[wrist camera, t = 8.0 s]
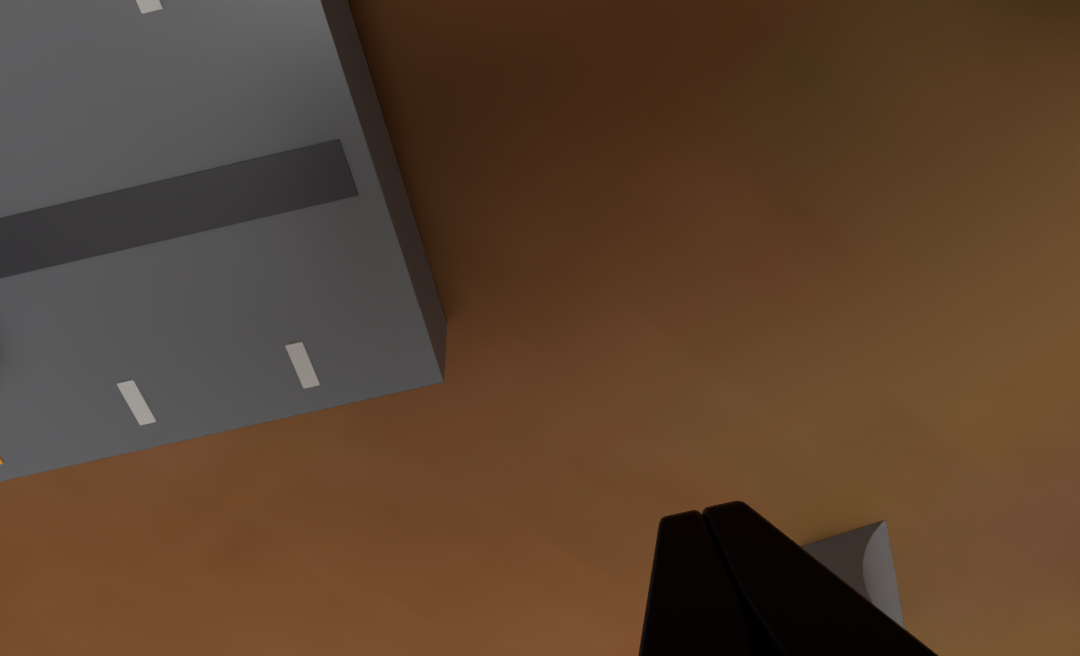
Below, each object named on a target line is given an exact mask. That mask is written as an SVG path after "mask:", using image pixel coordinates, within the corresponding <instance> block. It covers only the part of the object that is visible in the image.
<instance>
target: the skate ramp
mask: <svg viewBox="0 0 1080 656" xmlns="http://www.w3.org/2000/svg"><path fill="white" fill-rule="evenodd" d="M801 548H803V549H804V550H805V551H806V552H808V553H809V554H810V555H812V556H813V557H814V558H815V559H817V560H818V561H819V562H820V563H822V564H823V565H824V566H825V567H827V568H828V569H829V570H831V571H832V572H833V573H834V574H836V575H837V576H838V577H839V578H841V579H842V580H843V581H844V582H846V583H847V584H848V585H849V586H851V587H852V588H853V589H855V590H856V591H857V592H858V593H860V594H861V595H862V596H863V597H865V598H866V599H867V600H868V601H870V602H871V603H872V604H874V605H875V606H876V607H877V608H879V609H880V610H881V611H882V612H884V613H885V614H886V615H887V616H889V617H890V618H891V619H892V620H894V621H895V622H896V623H898V624H899V625H900V626H901V627H903V628H904V622H903V616H902V610H901V605H900V599H899V593H898V588H897V582H896V576H895V570H894V565H893V559H892V553H891V548H890V542H889V536H888V530H887V525H886V520H883V521H880V522H877V523H874V524H871V525H868V526H864V527H861V528H858V529H855V530H852V531H849V532H845V533H842V534H839V535H836V536H833V537H830V538H827V539H823V540H820V541H817V542H814V543H811V544H808V545H804V546H801ZM904 629H905V628H904Z"/></svg>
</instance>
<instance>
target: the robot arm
mask: <svg viewBox="0 0 1080 656" xmlns="http://www.w3.org/2000/svg"><path fill="white" fill-rule="evenodd" d="M639 656H938V655H937V654H935V653H934V652H933V651H932V650H930V649H929V648H928V647H927V646H925V645H924V644H923V643H922V642H920V641H919V640H918V639H917V638H915V637H914V636H913V635H911V634H910V633H909V632H908V631H906V630H905V629H904V628H903V627H901V626H900V625H899V624H898V623H896V622H895V621H894V620H892V619H891V618H890V617H889V616H887V615H886V614H885V613H884V612H882V611H881V610H880V609H879V608H877V607H876V606H875V605H874V604H872V603H871V602H870V601H868V600H867V599H866V598H865V597H863V596H862V595H861V594H860V593H858V592H857V591H856V590H855V589H853V588H852V587H851V586H849V585H848V584H847V583H846V582H844V581H843V580H842V579H841V578H839V577H838V576H837V575H836V574H834V573H833V572H832V571H831V570H829V569H828V568H827V567H825V566H824V565H823V564H822V563H820V562H819V561H818V560H817V559H815V558H814V557H813V556H812V555H810V554H809V553H808V552H806V551H805V550H804V549H803V548H801V547H800V546H799V545H798V544H796V543H795V542H794V541H793V540H791V539H790V538H789V537H788V536H786V535H785V534H784V533H782V532H781V531H780V530H779V529H777V528H776V527H775V526H774V525H772V524H771V523H770V522H769V521H767V520H766V519H765V518H763V517H762V516H761V515H760V514H758V513H757V512H756V511H755V510H753V509H752V508H751V507H750V506H748V505H747V504H746V503H744V502H741V501H733V502H728V503H724V504H719V505H715V506H710V507H707V508H705V509H704V510H703V512H702V514H701V513H700V512H699V511H696V510H692V511H687V512H682V513H678V514H673V515H669V516H665V517H663V518H662V519H661V521H660V523H659V527H658V534H657V540H656V547H655V553H654V559H653V566H652V572H651V579H650V585H649V592H648V598H647V604H646V611H645V617H644V624H643V630H642V636H641V643H640V649H639Z"/></svg>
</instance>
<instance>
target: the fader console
mask: <svg viewBox="0 0 1080 656" xmlns="http://www.w3.org/2000/svg"><path fill="white" fill-rule="evenodd" d="M446 333H447V322H446V319H445V316H444V312H443V309H442V306H441V303H440V299H439V296H438V293H437V290H436V286H435V283H434V280H433V277H432V273H431V270H430V267H429V264H428V260H427V257H426V254H425V251H424V247H423V244H422V241H421V238H420V234H419V231H418V228H417V225H416V221H415V218H414V215H413V212H412V208H411V205H410V202H409V199H408V195H407V192H406V189H405V186H404V182H403V179H402V176H401V173H400V169H399V166H398V163H397V160H396V156H395V153H394V150H393V147H392V143H391V140H390V137H389V134H388V130H387V127H386V124H385V121H384V117H383V114H382V111H381V108H380V104H379V101H378V98H377V94H376V91H375V88H374V85H373V81H372V78H371V75H370V72H369V68H368V65H367V62H366V59H365V55H364V52H363V49H362V46H361V42H360V39H359V36H358V33H357V29H356V26H355V23H354V20H353V16H352V13H351V10H350V7H349V3H348V0H0V481H5V480H9V479H14V478H18V477H23V476H27V475H32V474H36V473H41V472H45V471H50V470H54V469H59V468H63V467H67V466H72V465H76V464H81V463H85V462H90V461H94V460H99V459H103V458H108V457H112V456H117V455H121V454H126V453H130V452H134V451H139V450H143V449H148V448H152V447H157V446H161V445H166V444H170V443H175V442H179V441H184V440H188V439H193V438H197V437H201V436H206V435H210V434H215V433H219V432H224V431H228V430H233V429H237V428H242V427H246V426H251V425H255V424H260V423H264V422H268V421H273V420H277V419H282V418H286V417H291V416H295V415H300V414H304V413H309V412H313V411H318V410H322V409H327V408H331V407H335V406H340V405H344V404H349V403H353V402H358V401H362V400H367V399H371V398H376V397H380V396H385V395H389V394H394V393H398V392H402V391H407V390H411V389H416V388H420V387H425V386H429V385H434V384H438V383H443V382H444V370H445V352H446Z"/></svg>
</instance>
